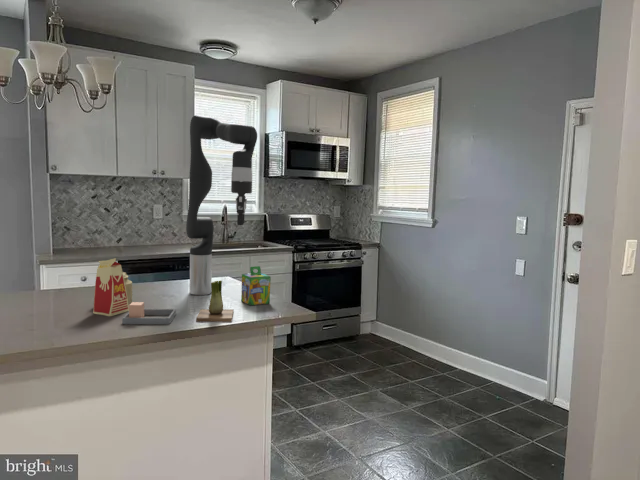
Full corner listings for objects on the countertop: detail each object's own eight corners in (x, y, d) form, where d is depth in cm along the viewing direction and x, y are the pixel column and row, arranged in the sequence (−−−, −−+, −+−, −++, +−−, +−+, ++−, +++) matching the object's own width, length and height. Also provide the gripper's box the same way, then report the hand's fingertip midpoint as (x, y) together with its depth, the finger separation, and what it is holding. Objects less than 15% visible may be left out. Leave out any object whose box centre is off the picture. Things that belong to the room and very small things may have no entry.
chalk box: (249, 306, 186) (250, 269, 184) (240, 301, 193) (241, 265, 192) (270, 303, 191) (271, 267, 189) (260, 299, 198) (261, 264, 197)
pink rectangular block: (132, 319, 162) (132, 302, 161) (144, 319, 162) (144, 302, 162) (129, 322, 158) (128, 305, 157) (141, 322, 159) (141, 305, 158)
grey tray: (132, 314, 168) (132, 308, 167) (175, 314, 170) (175, 309, 169) (122, 323, 156) (122, 318, 156) (169, 324, 158) (169, 318, 158)
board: (200, 312, 174) (200, 309, 174) (233, 312, 175) (233, 309, 175) (196, 321, 162) (196, 318, 162) (231, 321, 163) (231, 318, 163)
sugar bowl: (97, 299, 186) (97, 262, 185) (127, 297, 192) (127, 261, 191) (103, 308, 174) (103, 268, 172) (135, 305, 180) (134, 267, 178)
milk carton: (129, 310, 172) (129, 256, 170) (110, 316, 164) (110, 260, 162) (109, 307, 175) (109, 254, 173) (90, 313, 167) (89, 258, 165)
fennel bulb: (220, 311, 172) (220, 278, 171) (226, 314, 169) (227, 281, 167) (205, 313, 168) (206, 280, 167) (212, 316, 165) (212, 282, 163)
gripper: (232, 180, 179) (231, 222, 180) (230, 179, 165) (229, 225, 166) (252, 180, 180) (251, 223, 181) (251, 180, 166) (250, 226, 167)
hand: (240, 224), depth 174 cm, fingers open, 8 cm apart
